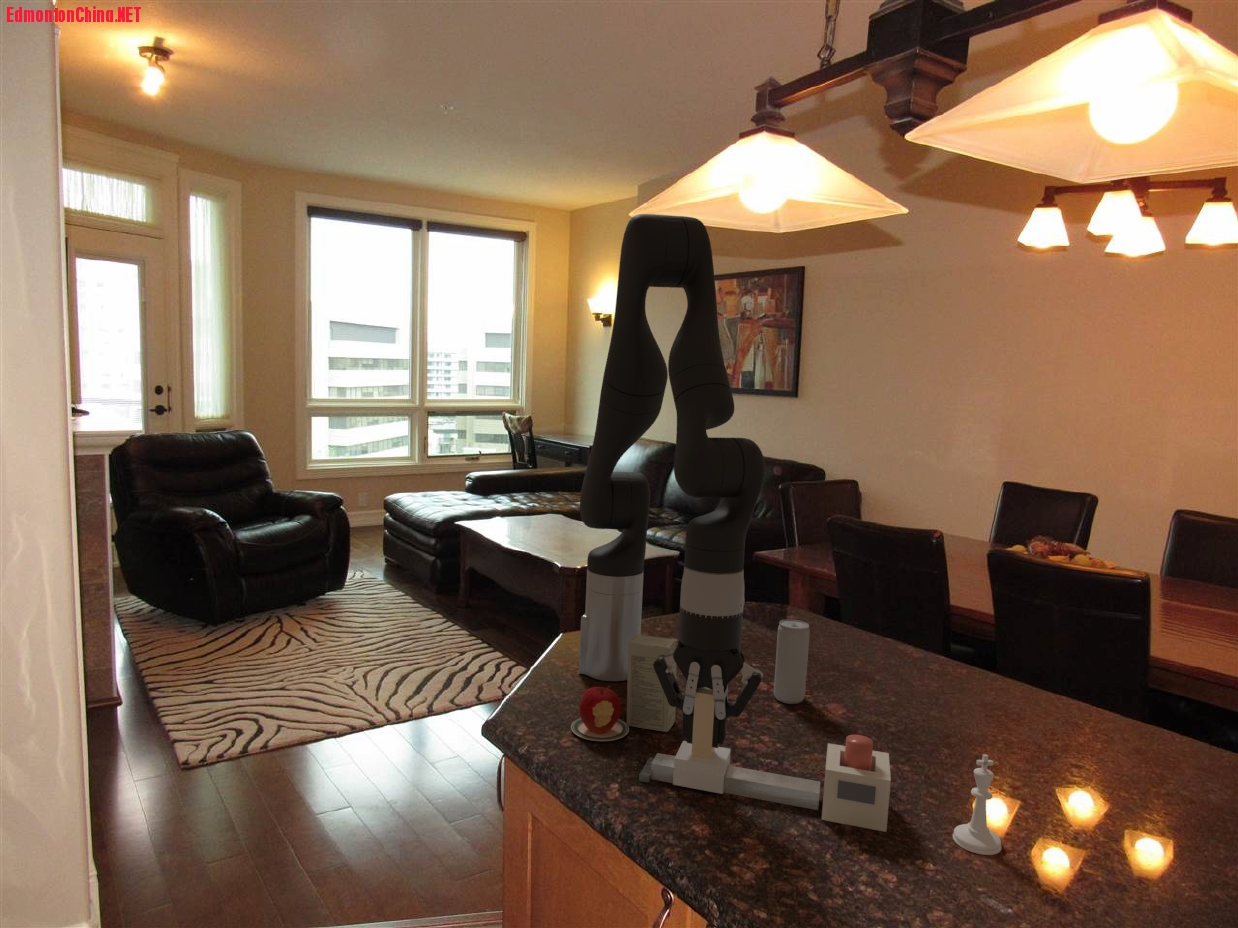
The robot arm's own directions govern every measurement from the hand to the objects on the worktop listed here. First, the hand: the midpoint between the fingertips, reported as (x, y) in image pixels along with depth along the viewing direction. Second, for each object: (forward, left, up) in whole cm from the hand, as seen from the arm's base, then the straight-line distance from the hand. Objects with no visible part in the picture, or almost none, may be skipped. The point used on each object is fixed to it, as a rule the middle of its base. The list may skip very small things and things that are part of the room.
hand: (703, 742), depth 100 cm
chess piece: (+31, -2, -5) cm, 31 cm away
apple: (-16, +9, -5) cm, 19 cm away
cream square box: (+18, 0, -5) cm, 19 cm away
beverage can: (+8, +31, -5) cm, 32 cm away
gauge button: (+18, 0, -2) cm, 18 cm away
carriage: (0, 0, -5) cm, 5 cm away
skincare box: (-10, +14, -5) cm, 18 cm away
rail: (+4, 0, -5) cm, 6 cm away
